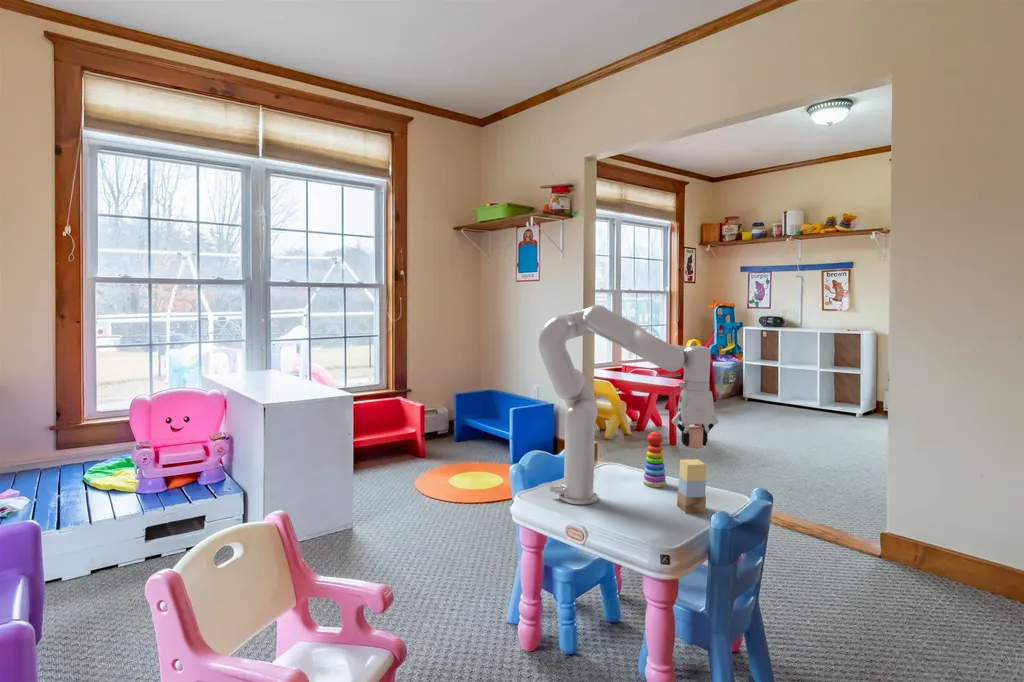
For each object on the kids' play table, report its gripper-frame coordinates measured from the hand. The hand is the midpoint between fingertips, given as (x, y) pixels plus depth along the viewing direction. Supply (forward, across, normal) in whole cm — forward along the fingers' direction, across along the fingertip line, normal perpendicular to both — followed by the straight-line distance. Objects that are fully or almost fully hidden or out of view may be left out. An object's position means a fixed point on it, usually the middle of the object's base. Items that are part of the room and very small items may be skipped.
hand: (694, 444), depth 181 cm
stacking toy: (+21, -3, +24) cm, 32 cm away
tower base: (+21, 0, 0) cm, 21 cm away
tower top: (+11, 0, 0) cm, 11 cm away
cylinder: (+1, 0, 0) cm, 1 cm away
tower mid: (+16, 0, 0) cm, 16 cm away
